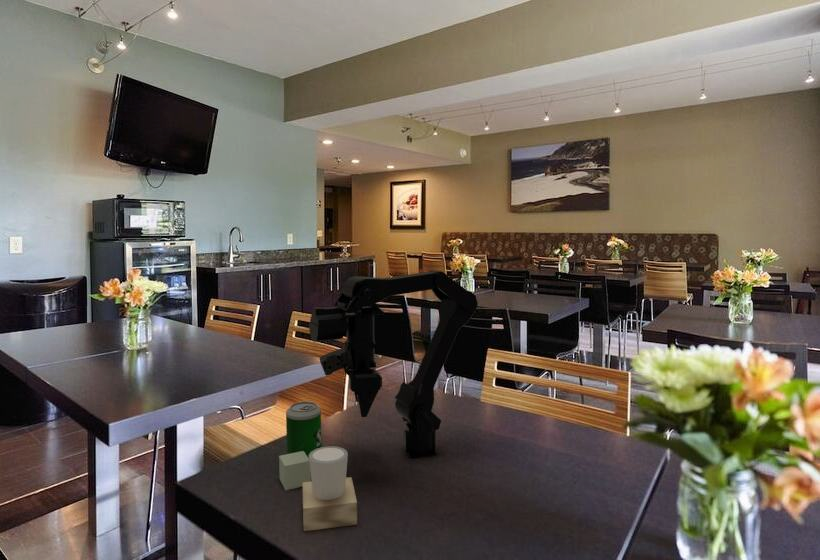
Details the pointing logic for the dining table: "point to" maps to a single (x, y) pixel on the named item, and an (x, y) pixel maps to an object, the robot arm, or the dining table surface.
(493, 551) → the dining table surface
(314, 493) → the shot glass
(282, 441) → the dining table surface
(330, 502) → the maple block
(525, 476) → the dining table surface
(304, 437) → the soda can
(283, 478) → the sage cube
